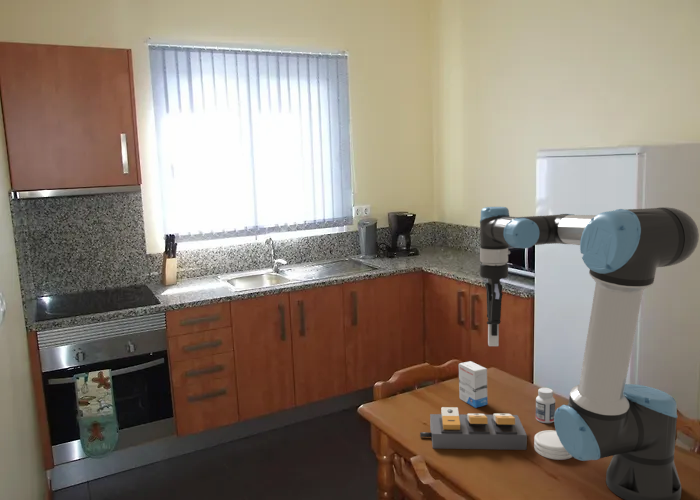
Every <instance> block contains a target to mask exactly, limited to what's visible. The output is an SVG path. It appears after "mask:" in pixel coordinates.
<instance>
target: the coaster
mask: <svg viewBox="0 0 700 500" xmlns="http://www.w3.org/2000/svg"><path fill="white" fill-rule="evenodd" d="M533 439H534V441H533V443H534V444H533V447H534V448H533V449H534V451H535V452H536V453H537V454H538V455H540V456H542V457H543V458H546V459H551V460H554V461H555V460H557V461H559V460H560V461H563V460H569V459H571V458H574V457H573V456H571V455H570V454H569V453H568V452H567V451H566V449H565V448H564V447H563V445H562V444H561V442H560V440H559V437H558V435H557V433H556V430H554V429H553V430H550V429H549V430H542V431H541V430H540V431H539V432H537V433H536V434H534V437H533Z"/></svg>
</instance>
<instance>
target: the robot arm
mask: <svg viewBox="0 0 700 500" xmlns="http://www.w3.org/2000/svg"><path fill="white" fill-rule="evenodd" d="M479 228H480V229H479V230H480V231H479V232H480V234H479V239H480V247H479V262H481V263H480V265H479V276H480V277H481V278H482V279H487V282H485V290H486V317H487V321H486V324H487V345H488V347H499V345H500V344H499V339H500V337H499V335H500V328H499V327H500V324H501V322H502V321H501V318H502V317H501V316H502V314H501V313H502V300H503V295H504V294H503V292H502V291H503V284H502V283H501V279H506V278H508V276H509V265H508V262H509V255H510V254H511V251H510V250H509V246H510V247H512V248H515V249H530V248H532V247H533V246H539V245H549V244H551V245H553V244H555V245H556V244H559V245H563V244H564V245H574V246H575V245H576V246H579V249H580V250H579V251H580V254H582V257H581V258H582V261H583V263H584V264H585V266H586V267H587V268H588V269H589V273H588V274H589V276H590V277H591V278H592V279H593V281H594V282H595V285H594V291H593V298H592V302H591V303H592V304H591V311H590V317H589V323H588V329H587V334H586V335H587V336H586V341H585V346H584V347H585V348H584V354H583V360H582V367H581V372H580V379H579V384H577V385H575V386H573V387H572V388H571V389H570V392H569V398H568V402H567V404H562V405H561V406H559V407H557V408H556V409H555V415H554V422H553V423H554V428H555V431H556V433H557V435H558V437H559V440H560V442H561V444H562V445H563V447H564V448H565V449H566V451H567V452H568V453H569V454H570V455H571V456H573V457H572V458H574V459H576V460H578V461H583V462H585V461H586V462H587V461H597V460H600V459H604V458H608V457H612V458H611V460H610V462H609V465H608V467H607V469H606V473H605V475H606V477H605V483H606V485H607V488H608V489H609V490H610V492H612V493H613V494H614V495H616V496H617V497H618V498H621V499H623V500H682V499H681V498H682V484H681V481H680V478H679V474H678V470H677V467H676V464H675V447H676V437H677V435H676V432H677V421H678V416H679V415H678V414H677V413H678V411H677V407H678V406H677V405H678V404H677V401H676V400H675V397H673V396H672V394H671V395H670V394H669V393H667V392H665V391H663V390H660V389H658V388H654V387H651V386H646V385H643V384H634V383H633V384H632V383H628V384H627V383H626V382H627V377H628V372H629V367H630V361H631V355H632V350H633V347H634V346H633V345H634V339H635V334H636V330H637V325H638V324H637V323H638V319H639V314H640V308H641V304H642V298H643V294H644V293H643V292H644V290H646V289H648V288H649V287H651V286H652V285H654V281H655V277H656V273H657V272H656V271H657V268H662V267H664V268H665V267H670V266H675V265H678V264H680V263H682V262H684V261H686V260H687V259H688V258H690V256H692V254H693V253H694V252H695V250H696V248H697V247H698V243H699V237H700V233H699V227H698V225H697V224H696V222H695V220H694V219H693V218H692V217H691V216H690V215H689V214H688V213H687V212H685V211H683V210H681V209H677V208H674V207H667V206H665V207H652V208H633V209H632V208H630V209H626V208H619V209H615V210H609V211H603V212H600V213H598V214H594V215H593V214H573V213H571V214H570V213H560V214H550V215H533V216H529V215H528V216H510V212H509V208H508V207H506V206H485V207H483V208H481V211H480V220H479Z"/></svg>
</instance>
